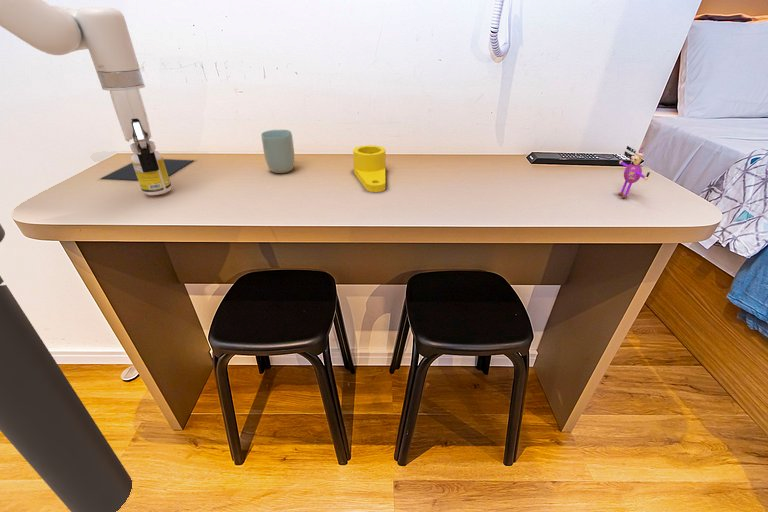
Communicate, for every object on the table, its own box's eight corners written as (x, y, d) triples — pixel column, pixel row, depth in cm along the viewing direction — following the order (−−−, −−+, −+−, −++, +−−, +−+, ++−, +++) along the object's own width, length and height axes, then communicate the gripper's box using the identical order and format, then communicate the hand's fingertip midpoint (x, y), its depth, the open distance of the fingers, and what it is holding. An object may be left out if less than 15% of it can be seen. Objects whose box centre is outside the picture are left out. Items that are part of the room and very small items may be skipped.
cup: (294, 164, 108) (290, 128, 103) (298, 174, 102) (293, 136, 97) (266, 167, 106) (260, 130, 101) (268, 177, 100) (261, 138, 95)
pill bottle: (160, 184, 94) (146, 138, 88) (177, 188, 91) (164, 142, 86) (136, 192, 89) (119, 145, 83) (153, 198, 87) (137, 149, 81)
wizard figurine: (605, 187, 95) (622, 138, 88) (618, 187, 95) (636, 138, 88) (630, 207, 85) (650, 153, 79) (644, 207, 85) (666, 153, 79)
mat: (101, 178, 99) (101, 178, 99) (141, 159, 112) (141, 158, 112) (160, 181, 97) (159, 180, 97) (193, 161, 111) (193, 160, 111)
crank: (352, 167, 106) (351, 146, 103) (382, 166, 107) (382, 144, 104) (359, 193, 91) (358, 168, 88) (394, 191, 92) (394, 166, 89)
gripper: (99, 76, 82) (128, 158, 92) (100, 87, 70) (133, 181, 79) (139, 74, 86) (163, 153, 95) (146, 84, 73) (173, 175, 83)
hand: (149, 165), depth 87 cm, fingers closed on pill bottle, 6 cm apart
